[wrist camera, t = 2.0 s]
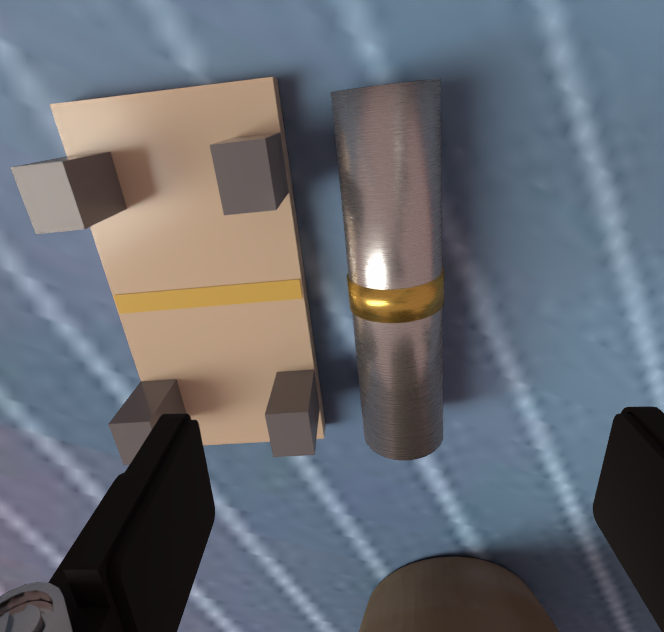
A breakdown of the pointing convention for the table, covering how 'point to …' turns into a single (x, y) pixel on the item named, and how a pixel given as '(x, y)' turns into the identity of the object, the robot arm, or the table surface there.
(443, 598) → the plant pot
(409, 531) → the table surface
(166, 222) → the plate
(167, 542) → the robot arm
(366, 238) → the tube
